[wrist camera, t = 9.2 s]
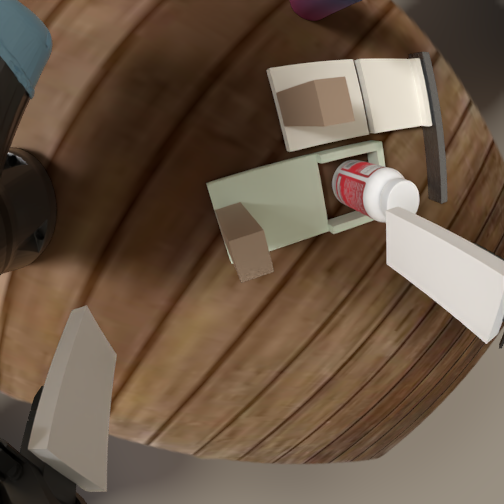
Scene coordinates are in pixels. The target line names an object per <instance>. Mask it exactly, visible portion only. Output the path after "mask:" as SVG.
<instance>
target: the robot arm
mask: <svg viewBox="0 0 504 504" xmlns="http://www.w3.org/2000/svg"><path fill="white" fill-rule="evenodd" d="M51 51H52V38H51V35H50V32H49V31H48V29H47V28H46V26H45V25H44V23H43V22H42V21H41V20H40V19H39V18H38V17H37V16H36V15H35V14H34V13H33V12H32V11H30V10H29V9H28V8H27V7H25V6H24V5H23V4H22V3H20V2H19V1H17V0H0V275H1V274H3V273H6V272H9V271H13V270H16V269H20V268H23V267H25V266H27V265H29V264H30V263H32V262H33V261H34V260H35V259H36V258H37V257H38V256H39V255H40V254H41V253H42V252H43V251H44V250H45V248H46V247H47V245H48V244H49V242H50V240H51V238H52V235H53V232H54V228H55V224H56V213H57V209H56V198H55V193H54V189H53V186H52V183H51V180H50V178H49V176H48V174H47V172H46V170H45V169H44V167H43V166H42V165H41V163H40V162H39V161H38V160H37V159H36V158H35V157H34V156H32V155H31V154H30V153H28V152H26V151H24V150H21V149H18V148H10V146H11V143H12V141H13V138H14V135H15V133H16V130H17V128H18V125H19V123H20V120H21V118H22V116H23V114H24V111H25V109H26V107H27V105H28V102H29V100H30V99H32V98H33V96H34V89H35V86H36V84H37V82H38V79H39V77H40V75H41V73H42V71H43V69H44V67H45V65H46V63H47V61H48V59H49V57H50V54H51ZM386 243H387V265H389V266H390V267H391V268H393V269H394V270H395V271H397V272H398V273H399V274H401V275H402V276H403V277H405V278H406V279H407V280H409V281H410V282H411V283H413V284H414V285H415V286H416V287H418V288H419V289H420V290H422V291H423V292H424V293H425V294H427V295H428V296H429V297H431V298H432V299H433V300H434V301H436V302H437V303H438V304H439V305H441V306H442V307H443V308H444V309H446V310H447V311H448V312H449V313H450V314H452V315H453V316H454V317H455V318H457V319H458V320H459V321H460V322H461V323H463V324H464V325H465V326H466V327H467V328H469V329H470V330H471V331H472V332H473V333H474V334H476V335H477V336H478V337H479V338H480V339H481V340H482V341H484V342H485V343H486V344H487V343H488V342H489V341H490V340H491V339H493V338H494V337H495V336H496V335H497V334H498V332H499V329H500V326H501V324H502V321H504V259H503V258H501V257H499V256H497V255H496V256H495V254H494V253H492V252H490V251H487V249H485V248H483V247H482V246H480V245H478V244H475V243H471V242H469V241H467V240H466V239H464V238H462V237H460V236H458V235H456V234H454V233H452V232H450V231H448V230H446V229H445V228H443V227H441V226H439V225H437V224H435V223H432V222H430V221H428V220H426V219H424V218H422V217H420V216H418V215H416V214H414V213H412V212H409V211H407V210H405V209H403V208H401V207H395V208H391V209H388V210H386ZM503 344H504V334H503V336H502V339H501V341H500V344H499V348H502V346H503ZM116 356H117V355H116V353H115V351H114V350H113V348H112V347H111V345H110V344H109V342H108V341H107V339H106V337H105V336H104V334H103V332H102V331H101V329H100V328H99V326H98V324H97V322H96V321H95V319H94V317H93V316H92V314H91V312H90V310H89V309H88V307H87V306H84V307H81V308H78V309H75V310H72V312H71V314H70V316H69V319H68V321H67V324H66V326H65V329H64V331H63V334H62V336H61V339H60V341H59V344H58V347H57V349H56V352H55V355H54V358H53V360H52V363H51V366H50V369H49V372H48V375H47V378H46V381H45V384H44V386H41V388H40V389H39V391H38V392H37V394H36V395H35V397H34V400H33V403H32V407H31V411H30V414H29V417H28V419H29V421H27V425H26V429H25V433H24V437H23V441H22V445H21V450H20V453H19V452H18V451H17V450H16V449H14V448H13V447H12V446H11V445H10V444H9V443H7V442H6V441H5V440H3V439H1V438H0V504H87V503H86V502H85V500H84V499H83V498H82V497H81V496H80V495H79V494H78V493H76V485H78V486H79V487H81V488H83V489H84V490H86V491H87V492H103V491H105V492H106V491H107V449H108V447H107V446H108V431H109V417H110V406H111V396H112V387H113V378H114V370H115V363H116Z"/></svg>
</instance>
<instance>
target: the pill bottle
mask: <svg viewBox="0 0 504 504" xmlns="http://www.w3.org/2000/svg"><path fill="white" fill-rule="evenodd" d="M332 189H333V192H334V195H335V196H336V198H337V199H338V200H339V201H340V202H341V203H343V204H344V205H346V206H348V207H350V208H352V209H354V210H356V211H358V212H360V213H362V214H364V215H366V216H368V217H370V218H372V219H374V220H376V221H379V222H386V210H388V209H391V208H395V207H401V208H403V209H405V210H407V211H409V212H412V213H414V214H416V212H417V210H418V206H419V192H418V189H417V187H416V186H415V184H414V183H412V182H411V181H408V180H406V179H405V178H404V177H403V176H402V174H401V173H399V172H398V171H397V170H395V169H392V168H388V167H384V166H380V165H376V164H372V163H368V162H364V161H359V160H348V161H346V162H344V163H342V164H341V165H340V166H339V167H338V168H337V169H336V171H335V173H334V175H333V179H332Z"/></svg>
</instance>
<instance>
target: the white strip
mask: <svg viewBox="0 0 504 504" xmlns="http://www.w3.org/2000/svg"><path fill="white" fill-rule="evenodd" d="M354 61H355V65H356V69H357V73H358V77H359V81H360V86H361V90H362V95H363V99H364V104H365V109H366V114H367V119H368V125H369V130H370V133H380V132H386V131H392V130H398V129H404V128H411V127H417V126H432V120H431V114H430V107H429V101H428V95H427V90H426V85H425V80H424V75H423V71H422V66H421V62H420V58H413V59H358V60H354Z"/></svg>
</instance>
